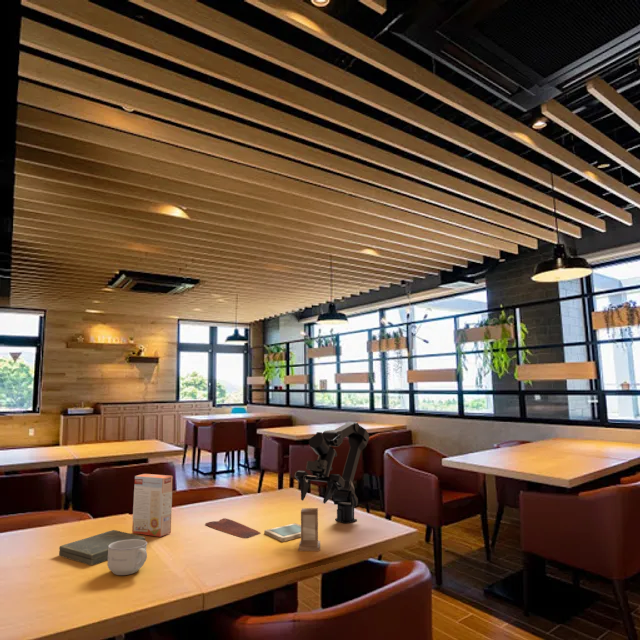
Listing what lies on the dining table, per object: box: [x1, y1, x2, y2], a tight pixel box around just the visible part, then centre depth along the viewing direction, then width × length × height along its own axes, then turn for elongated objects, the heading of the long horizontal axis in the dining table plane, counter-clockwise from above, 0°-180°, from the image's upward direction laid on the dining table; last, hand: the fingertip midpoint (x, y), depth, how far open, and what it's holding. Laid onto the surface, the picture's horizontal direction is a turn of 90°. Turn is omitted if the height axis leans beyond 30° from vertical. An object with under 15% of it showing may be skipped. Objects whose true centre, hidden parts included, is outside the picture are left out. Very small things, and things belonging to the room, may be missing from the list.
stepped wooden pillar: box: [298, 507, 321, 552], centre depth 158 cm, size 7×7×12 cm
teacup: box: [107, 539, 148, 576], centre depth 137 cm, size 14×11×8 cm
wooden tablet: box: [204, 517, 261, 539], centre depth 179 cm, size 27×10×2 cm, turn 45°
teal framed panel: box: [263, 522, 301, 543], centre depth 172 cm, size 14×12×1 cm
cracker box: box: [131, 473, 174, 538], centre depth 176 cm, size 14×6×21 cm, turn 65°
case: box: [58, 529, 146, 566], centre depth 156 cm, size 18×4×20 cm
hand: (312, 501), depth 167 cm, fingers open, 9 cm apart
